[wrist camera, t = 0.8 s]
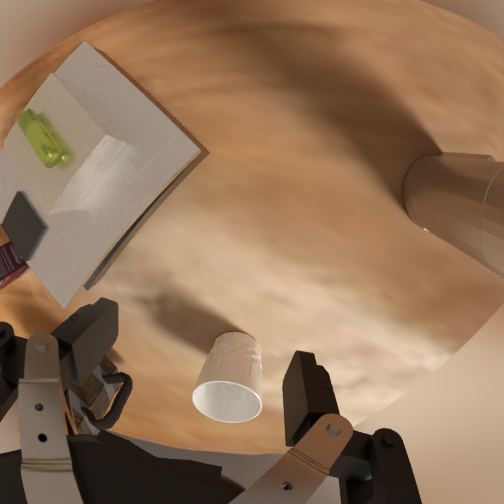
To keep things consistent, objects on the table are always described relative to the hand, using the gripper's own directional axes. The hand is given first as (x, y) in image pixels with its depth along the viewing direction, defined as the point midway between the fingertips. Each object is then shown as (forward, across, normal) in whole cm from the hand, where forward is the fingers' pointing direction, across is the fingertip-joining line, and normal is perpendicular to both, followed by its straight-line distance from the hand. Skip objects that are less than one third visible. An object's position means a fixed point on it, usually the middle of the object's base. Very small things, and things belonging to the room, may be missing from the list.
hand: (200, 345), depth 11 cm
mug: (+23, +19, +30) cm, 42 cm away
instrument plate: (+14, +19, -4) cm, 24 cm away
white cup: (+22, -3, +16) cm, 27 cm away
